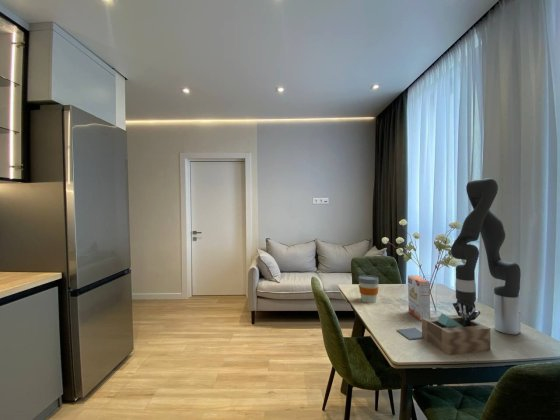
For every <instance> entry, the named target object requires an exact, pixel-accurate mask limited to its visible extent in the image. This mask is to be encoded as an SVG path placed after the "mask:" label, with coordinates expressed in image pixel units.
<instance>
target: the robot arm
mask: <svg viewBox="0 0 560 420" xmlns="http://www.w3.org/2000/svg"><path fill="white" fill-rule="evenodd" d="M465 187H466V189H465V191H466V196H467V197H468V200H469V202H470V204H471V206H472V210H471V212H470V213H469V214H467V216H466V218H465V219H464V220H463V223H462V226H461V229H460V230H461V231H460V233H459V235H458V236H457V237H456V239H455V241H454V242H453V244H452V245H451V248H450V254H451V256H452V257H453V258H454V259H457V260H462V261H463V260H464V261H465V264H458V265H456V266H455V299H456V302H453V303H452V306H453V307H454V309H455V311H456V315H458V316H461V318H462V325H463V326H464V327H469V326H470V321H471V320H473V321H475V320H476V319H477V318H478V317H479V315H480V314H481V310H478V309H476V304H475V303H476V301H477V291H476V290H477V287H476V286H477V284H476V278H475V277H476V275H475V274H476V273H475V271H476V266H477V263H478V259H479V256H480V250H479V248H478V247H477V245H474V244H468V243H470V242H471V243H472V242H476V241H478V239H479V238H480V235H481V239H482V242H483V246H484V249H485V252H486V260H487V264H488V270H489V271H488V272H489V273H490V275H491V277H492V278H494V279H496V280H500V281H503V282H504V285H500V286H495V287H494V289H493V301H494V304H493V305H494V306H493V308H494V309H493V310H494V311H493V312H494V318H493V320H494V321H493V322H494V330H496V331H497V332H500V333H503V334H508V335H518V334H520V333H521V332H522V331H521V329H522V328H521V326H522V325H521V312H520V311H519V309H520V307H519V306H520V305H519V304H520V303H519V301H520V300H519V294H520V290H521V278H522V277H521V276H522V273H521V268H520V266H519V264H518V263H516V262H513V261H512V262H511V261H506V260H502V258H501V255H500V251H501V247H502V245H503V244H504V242H505V238H506V232H505V228H504V224H503V222H502V221H501V219H500V218H499V217H498V216H497V215H496V214H495V213H494V212H493V211H492V210H490V209H491V207H492V205H493V203H494V201H495V198H496V197H497V194H498V190H499V184H498V182H497V180H496V179H494V178H490V177H489V178H488V177H487V178H478V179H472V180H469V181H468V182H467V184H466V186H465Z"/></svg>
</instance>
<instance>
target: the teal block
mask: <svg viewBox="0 0 560 420" xmlns="http://www.w3.org/2000/svg"><path fill="white" fill-rule="evenodd" d="M439 316H440V317H439V319H438V322H439V323H441V324H442V325H444V326H445V327H447V328H448V327H457V326H461V327H464V326H462V325H460V324H459V323H457V322H456V321H454V320H453V319H451V318H450V317H448V316H449V315H446V314H444V313H441V314H440V315H439Z"/></svg>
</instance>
